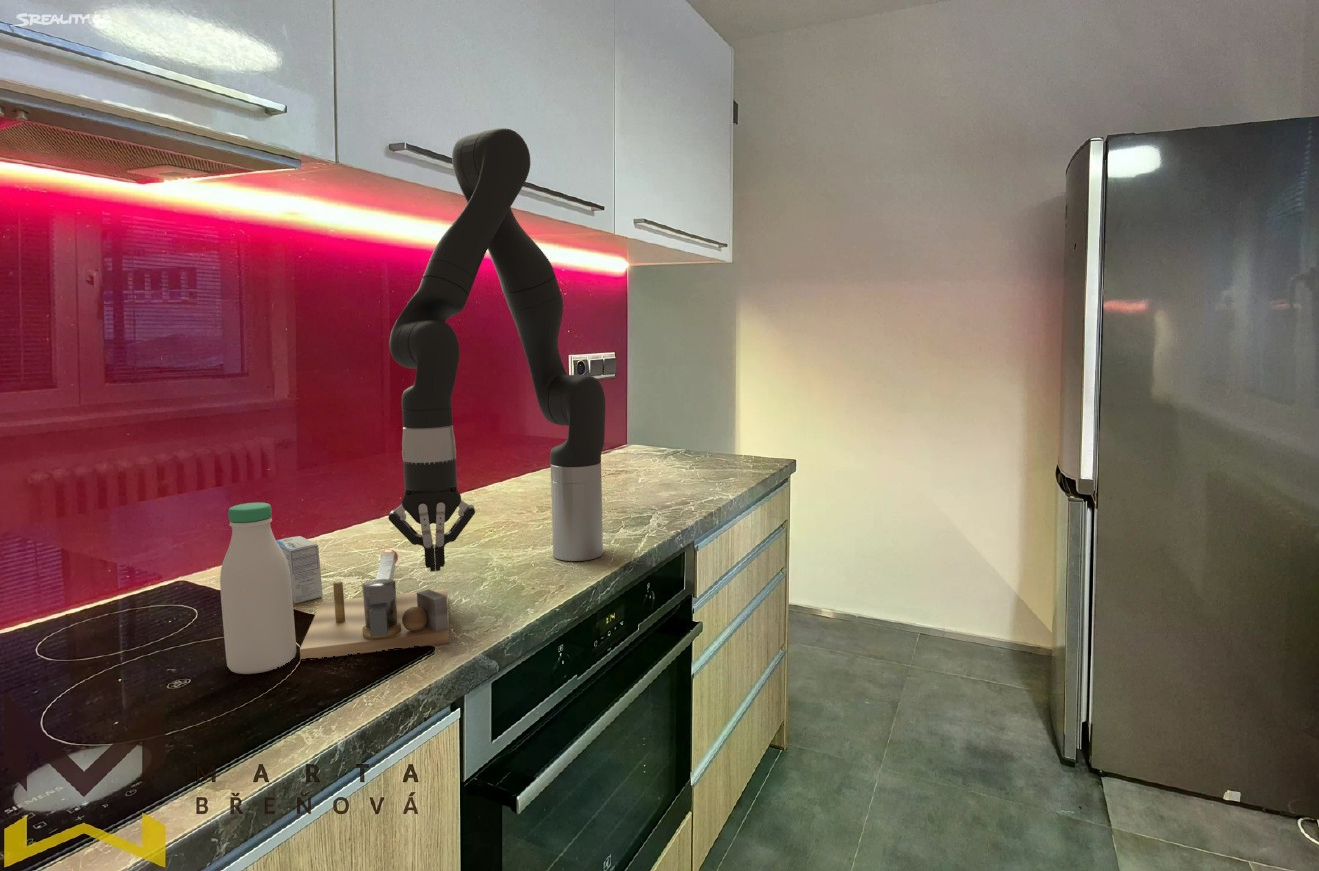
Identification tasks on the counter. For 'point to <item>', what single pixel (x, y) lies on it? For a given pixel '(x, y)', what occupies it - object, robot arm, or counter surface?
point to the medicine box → (303, 568)
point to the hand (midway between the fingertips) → (435, 569)
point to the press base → (346, 632)
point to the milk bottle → (256, 594)
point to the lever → (381, 597)
